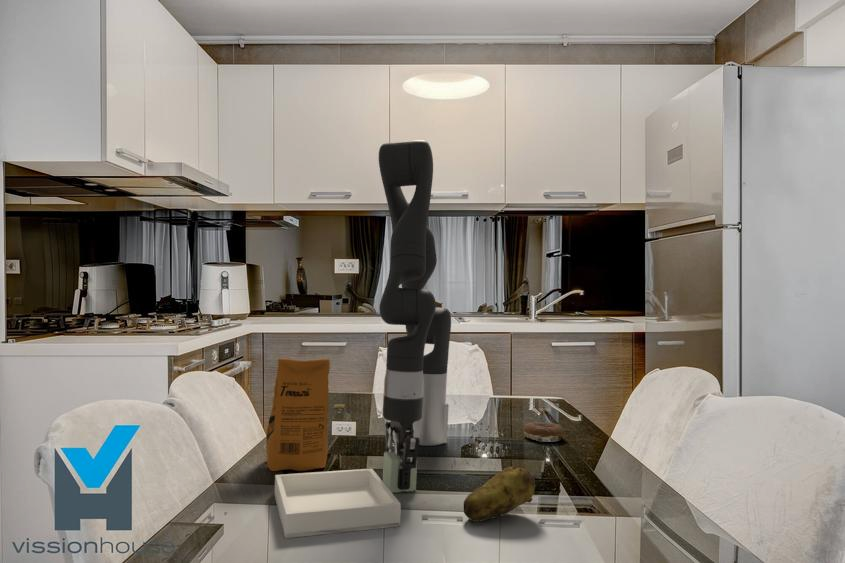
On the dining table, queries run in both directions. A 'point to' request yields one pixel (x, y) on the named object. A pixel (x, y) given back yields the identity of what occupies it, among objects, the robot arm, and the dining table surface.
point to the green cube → (395, 473)
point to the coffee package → (299, 416)
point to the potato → (500, 494)
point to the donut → (543, 430)
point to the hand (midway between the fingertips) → (398, 483)
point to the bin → (334, 502)
